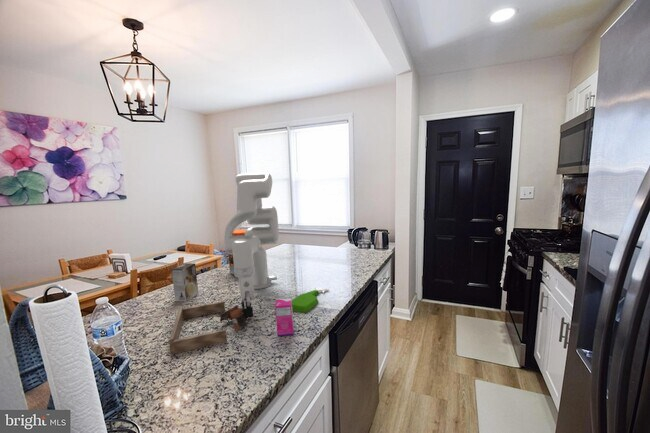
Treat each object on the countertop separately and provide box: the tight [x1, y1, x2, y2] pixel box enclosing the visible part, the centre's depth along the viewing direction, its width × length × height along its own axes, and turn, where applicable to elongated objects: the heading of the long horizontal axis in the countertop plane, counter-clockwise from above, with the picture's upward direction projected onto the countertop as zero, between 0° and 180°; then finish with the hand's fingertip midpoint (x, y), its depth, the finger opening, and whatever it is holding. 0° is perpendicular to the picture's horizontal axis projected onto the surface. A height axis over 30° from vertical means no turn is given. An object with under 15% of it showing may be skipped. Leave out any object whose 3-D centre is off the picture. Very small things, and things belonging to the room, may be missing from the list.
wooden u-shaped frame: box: [168, 300, 228, 355], centre depth 102 cm, size 17×26×5 cm, turn 22°
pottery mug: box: [219, 305, 249, 332], centre depth 105 cm, size 12×10×8 cm
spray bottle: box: [292, 287, 330, 313], centre depth 124 cm, size 3×11×24 cm
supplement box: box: [274, 297, 295, 337], centre depth 97 cm, size 6×6×12 cm
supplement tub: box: [227, 229, 247, 276], centre depth 169 cm, size 16×16×26 cm
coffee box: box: [171, 262, 199, 302], centre depth 132 cm, size 9×6×16 cm
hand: (247, 312), depth 108 cm, fingers open, 9 cm apart
